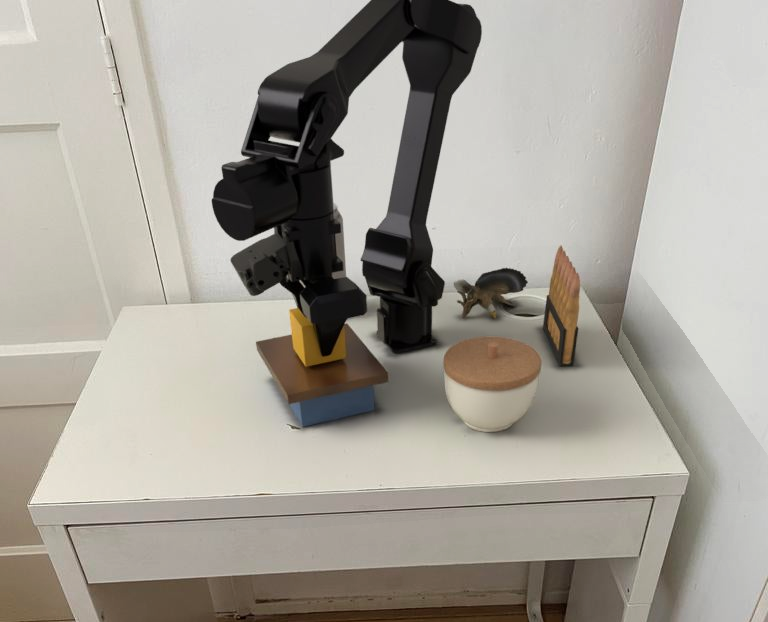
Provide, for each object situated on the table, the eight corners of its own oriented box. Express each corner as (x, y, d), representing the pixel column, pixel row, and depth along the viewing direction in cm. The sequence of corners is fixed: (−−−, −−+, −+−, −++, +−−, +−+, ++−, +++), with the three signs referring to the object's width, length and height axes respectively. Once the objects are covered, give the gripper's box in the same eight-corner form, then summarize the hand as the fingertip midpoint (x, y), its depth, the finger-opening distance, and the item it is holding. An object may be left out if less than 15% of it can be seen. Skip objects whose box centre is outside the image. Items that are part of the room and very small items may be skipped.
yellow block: (332, 340, 95) (329, 301, 92) (346, 358, 91) (343, 318, 88) (293, 348, 94) (288, 309, 90) (305, 367, 90) (301, 327, 87)
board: (347, 331, 100) (347, 323, 99) (388, 382, 90) (388, 372, 89) (256, 350, 97) (255, 341, 96) (288, 404, 87) (287, 395, 86)
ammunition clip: (573, 366, 100) (586, 275, 92) (559, 366, 100) (571, 276, 92) (555, 328, 108) (566, 242, 100) (542, 329, 108) (552, 243, 100)
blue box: (341, 365, 102) (339, 337, 99) (374, 410, 93) (373, 380, 90) (274, 379, 99) (270, 351, 97) (302, 427, 90) (298, 397, 88)
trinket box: (449, 446, 87) (451, 371, 81) (436, 397, 95) (437, 325, 89) (544, 440, 87) (554, 365, 81) (523, 391, 95) (530, 319, 89)
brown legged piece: (487, 324, 107) (537, 296, 109) (465, 276, 105) (515, 248, 108) (461, 333, 114) (508, 306, 117) (440, 288, 112) (488, 262, 115)
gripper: (212, 196, 87) (233, 326, 96) (254, 254, 73) (274, 398, 83) (308, 181, 90) (319, 309, 99) (365, 235, 76) (371, 376, 86)
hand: (318, 345), depth 92 cm, fingers closed on yellow block, 5 cm apart
